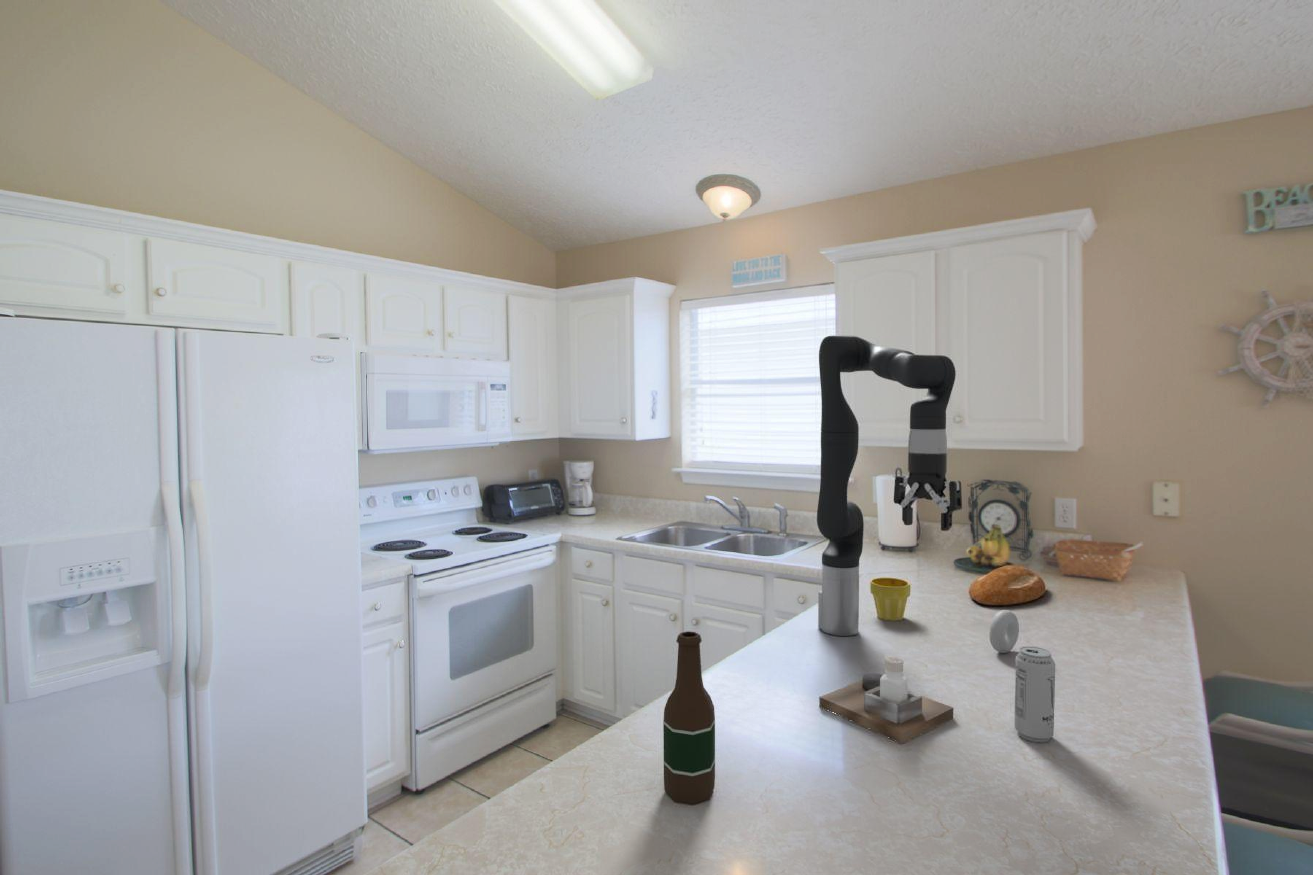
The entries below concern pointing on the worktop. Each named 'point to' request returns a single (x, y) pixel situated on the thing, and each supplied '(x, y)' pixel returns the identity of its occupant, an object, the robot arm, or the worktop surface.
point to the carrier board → (886, 709)
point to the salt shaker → (894, 681)
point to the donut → (1004, 631)
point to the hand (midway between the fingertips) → (926, 527)
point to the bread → (1007, 586)
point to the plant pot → (890, 597)
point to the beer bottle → (689, 729)
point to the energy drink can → (1034, 694)
